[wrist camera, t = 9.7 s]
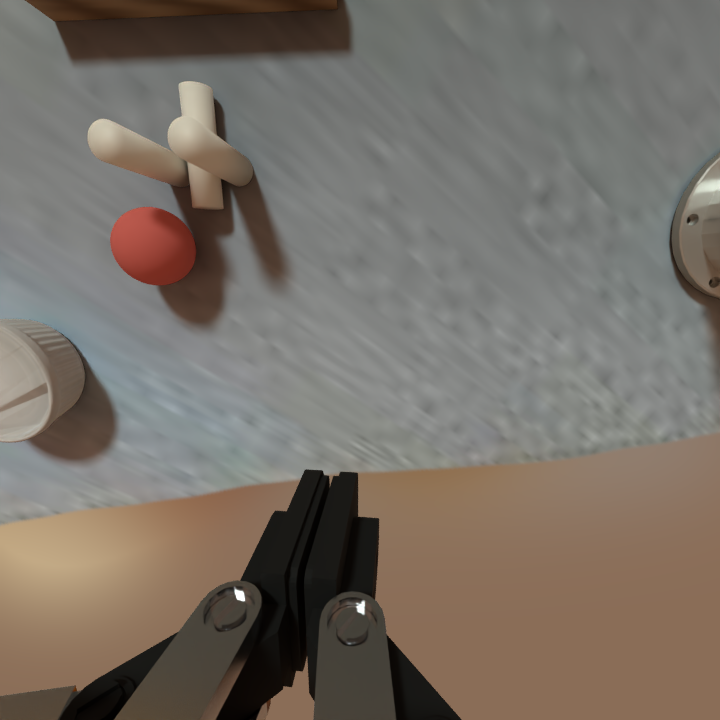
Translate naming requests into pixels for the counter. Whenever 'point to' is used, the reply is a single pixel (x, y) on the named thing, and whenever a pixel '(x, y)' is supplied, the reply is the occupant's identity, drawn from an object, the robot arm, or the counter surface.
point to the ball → (153, 246)
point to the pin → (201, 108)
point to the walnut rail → (168, 7)
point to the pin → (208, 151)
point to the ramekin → (35, 378)
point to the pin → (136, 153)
